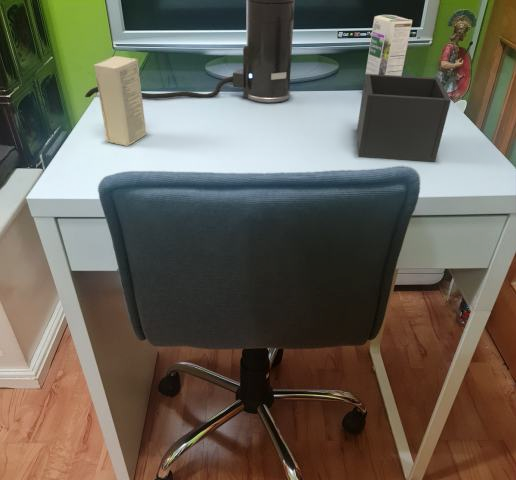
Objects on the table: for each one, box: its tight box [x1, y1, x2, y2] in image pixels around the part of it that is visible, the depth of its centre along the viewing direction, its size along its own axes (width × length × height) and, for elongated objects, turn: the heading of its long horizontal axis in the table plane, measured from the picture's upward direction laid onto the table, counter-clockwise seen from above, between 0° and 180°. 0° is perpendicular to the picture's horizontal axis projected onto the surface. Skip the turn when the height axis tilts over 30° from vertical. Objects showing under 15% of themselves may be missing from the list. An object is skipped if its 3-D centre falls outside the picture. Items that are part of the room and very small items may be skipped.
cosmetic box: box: [93, 55, 147, 147], centre depth 84 cm, size 6×4×12 cm
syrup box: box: [365, 14, 413, 76], centre depth 107 cm, size 6×6×14 cm
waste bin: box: [356, 73, 452, 163], centre depth 86 cm, size 13×13×10 cm
